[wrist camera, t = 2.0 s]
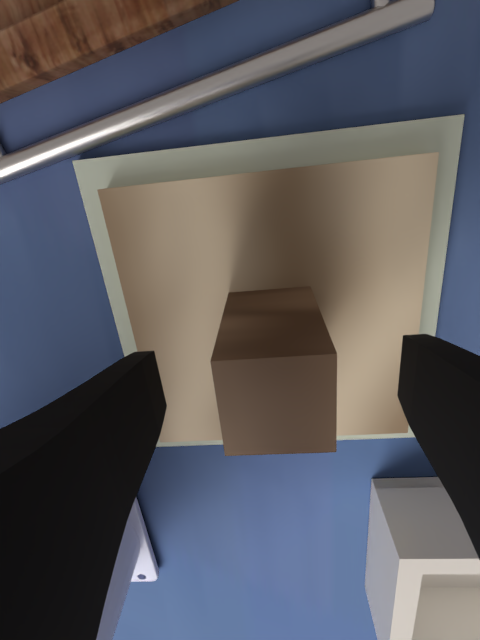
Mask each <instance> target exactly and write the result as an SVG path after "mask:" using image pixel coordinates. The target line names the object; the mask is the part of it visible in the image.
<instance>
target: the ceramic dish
mask: <svg viewBox="0 0 480 640" xmlns="http://www.w3.org/2000/svg"><path fill="white" fill-rule="evenodd" d="M365 590H366V594H367V598H368V602H369V606H370V610H371V614H372V618H373V622H374V627H375V631H376V635H377V639H378V640H480V560H479V557H478V555H477V553H476V551H475V548H474V546H473V544H472V542H471V540H470V537H469V535H468V533H467V531H466V528H465V526H464V524H463V522H462V520H461V517H460V515H459V514H458V512H457V510H456V508H455V506H454V504H453V502H452V500H451V498H450V497H449V495H448V493H447V491H446V490H445V488H444V486H443V484H442V483H441V481H440V479H439V477H418V478H381V479H372V481H371V496H370V512H369V528H368V543H367V559H366V574H365Z"/></svg>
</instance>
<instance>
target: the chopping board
mask: <svg viewBox="0 0 480 640" xmlns="http://www.w3.org/2000/svg"><path fill="white" fill-rule="evenodd" d="M237 1H239V0H0V103H3V102H5V101H7V100H10V99H12V98H14V97H16V96H19V95H21V94H23V93H26V92H28V91H30V90H33V89H35V88H37V87H40V86H42V85H44V84H47V83H49V82H51V81H54V80H56V79H58V78H60V77H63V76H65V75H67V74H70V73H72V72H74V71H77V70H79V69H81V68H84V67H86V66H88V65H91V64H93V63H95V62H98V61H100V60H102V59H105V58H107V57H109V56H111V55H114V54H116V53H118V52H121V51H123V50H125V49H128V48H130V47H132V46H135V45H137V44H139V43H142V42H144V41H146V40H149V39H151V38H153V37H156V36H158V35H160V34H162V33H165V32H167V31H169V30H172V29H174V28H176V27H179V26H181V25H183V24H186V23H188V22H190V21H193V20H195V19H197V18H200V17H202V16H204V15H206V14H209V13H211V12H213V11H216V10H218V9H220V8H223V7H225V6H227V5H230V4H232V3H234V2H237ZM370 1H371V9H369V10H366V11H364V12H361V13H359V14H356V15H354V16H351V17H349V18H346V19H344V20H341V21H339V22H336V23H334V24H331V25H329V26H326V27H324V28H321V29H319V30H316V31H314V32H311V33H309V34H306V35H304V36H301V37H299V38H296V39H294V40H291V41H289V42H286V43H284V44H281V45H279V46H276V47H274V48H271V49H269V50H266V51H264V52H261V53H259V54H256V55H254V56H251V57H249V58H246V59H244V60H241V61H239V62H236V63H234V64H231V65H229V66H226V67H224V68H221V69H219V70H216V71H214V72H211V73H209V74H206V75H204V76H201V77H199V78H196V79H194V80H191V81H189V82H186V83H184V84H181V85H179V86H176V87H174V88H171V89H169V90H166V91H164V92H161V93H159V94H156V95H154V96H151V97H149V98H146V99H144V100H141V101H139V102H136V103H134V104H131V105H129V106H126V107H124V108H121V109H119V110H116V111H114V112H111V113H109V114H106V115H104V116H101V117H99V118H96V119H94V120H91V121H89V122H86V123H84V124H81V125H79V126H76V127H74V128H71V129H68V130H66V131H63V132H61V133H58V134H56V135H53V136H51V137H48V138H46V139H43V140H41V141H38V142H36V143H33V144H31V145H28V146H26V147H23V148H21V149H18V150H16V151H13V152H11V153H8V154H6V153H5V151H4V149H3V147H2V145H1V143H0V184H3V183H5V182H8V181H11V180H13V179H16V178H18V177H21V176H24V175H26V174H29V173H32V172H34V171H37V170H39V169H42V168H45V167H47V166H50V165H52V164H55V163H58V162H60V161H63V160H65V159H68V158H71V157H73V156H76V155H78V154H81V153H84V152H86V151H89V150H91V149H94V148H97V147H99V146H102V145H105V144H107V143H110V142H112V141H115V140H118V139H120V138H123V137H125V136H128V135H131V134H133V133H136V132H138V131H141V130H144V129H146V128H149V127H151V126H154V125H157V124H159V123H162V122H164V121H167V120H170V119H172V118H175V117H177V116H180V115H183V114H185V113H188V112H191V111H193V110H196V109H198V108H201V107H204V106H206V105H209V104H211V103H214V102H217V101H219V100H222V99H224V98H227V97H230V96H232V95H235V94H237V93H240V92H243V91H245V90H248V89H250V88H253V87H256V86H258V85H261V84H264V83H266V82H269V81H271V80H274V79H277V78H279V77H282V76H284V75H287V74H290V73H292V72H295V71H297V70H300V69H303V68H305V67H308V66H310V65H313V64H316V63H318V62H321V61H323V60H326V59H329V58H331V57H334V56H337V55H339V54H342V53H344V52H347V51H350V50H352V49H355V48H357V47H360V46H363V45H365V44H368V43H370V42H373V41H376V40H378V39H381V38H383V37H386V36H389V35H391V34H394V33H396V32H399V31H402V30H404V29H407V28H410V27H412V26H415V25H417V24H420V23H423V22H425V21H428V20H429V19H430V17H431V16H432V14H433V12H434V8H435V0H391V1H390V0H370Z"/></svg>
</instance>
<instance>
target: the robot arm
mask: <svg viewBox="0 0 480 640" xmlns="http://www.w3.org/2000/svg"><path fill="white" fill-rule="evenodd" d="M397 396H398V399H399V402H400V404H401V407H402V409H403V412H404V415H405V417H406V419H407V422H408V424H409V426H410V428H411V430H412V432H413V434H414V436H415V437H416V439H417V441H418V443H419V444H420V446H421V448H422V450H423V451H424V453H425V455H426V457H427V458H428V460H429V462H430V464H431V465H432V467H433V469H434V471H435V472H436V474H437V476H438V477H439V479H440V481H441V483H442V484H443V486H444V488H445V490H446V491H447V493H448V495H449V497H450V498H451V500H452V502H453V504H454V506H455V508H456V510H457V512H458V514H459V515H460V517H461V520H462V522H463V524H464V526H465V528H466V531H467V533H468V535H469V537H470V540H471V542H472V544H473V546H474V548H475V551H476V553H477V555H478V557H479V560H480V356H478V355H476V354H474V353H472V352H469V351H467V350H465V349H463V348H460V347H458V346H456V345H454V344H451V343H449V342H447V341H444V340H442V339H439V338H437V337H434V336H431V335H428V334H414V335H403V340H402V351H401V361H400V372H399V383H398V393H397ZM166 408H167V404H166V400H165V395H164V391H163V387H162V382H161V378H160V374H159V369H158V365H157V361H156V356H155V352H154V351H140V352H133V353H131V354H129V355H127V356H126V357H124V358H122V359H120V360H119V361H117V362H116V363H114V364H112V365H111V366H109V367H108V368H106V369H105V370H103V371H102V372H100V373H99V374H97V375H95V376H94V377H92V378H91V379H89V380H88V381H86V382H85V383H83V384H81V385H80V386H78V387H77V388H75V389H73V390H72V391H70V392H68V393H67V394H65V395H63V396H61V397H60V398H58V399H56V400H55V401H53V402H51V403H50V404H48V405H46V406H44V407H43V408H41V409H39V410H37V411H35V412H33V413H32V414H30V415H28V416H26V417H24V418H22V419H20V420H18V421H16V422H14V423H12V424H10V425H8V426H6V427H4V428H1V429H0V640H112V639H113V636H114V633H115V630H116V627H117V624H118V620H119V617H120V614H121V611H122V608H123V605H124V601H125V598H126V595H127V592H128V589H129V586H130V582H131V581H155V580H157V578H158V575H159V569H158V565H157V562H156V559H155V556H154V552H153V549H152V546H151V543H150V539H149V536H148V533H147V530H146V526H145V523H144V520H143V517H142V513H141V510H140V507H139V504H138V500H137V497H136V496H137V493H138V490H139V488H140V485H141V483H142V480H143V478H144V475H145V473H146V470H147V468H148V465H149V463H150V460H151V458H152V455H153V453H154V450H155V447H156V445H157V442H158V440H159V437H160V434H161V430H162V426H163V422H164V417H165V413H166Z"/></svg>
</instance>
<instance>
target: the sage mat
mask: <svg viewBox="0 0 480 640" xmlns="http://www.w3.org/2000/svg"><path fill="white" fill-rule="evenodd" d="M464 116H465V114H461V115H453V116H444V117H436V118H428V119H419V120H411V121H402V122H394V123H386V124H377V125H369V126H361V127H352V128H344V129H335V130H327V131H319V132H310V133H302V134H293V135H285V136H277V137H268V138H260V139H251V140H243V141H235V142H226V143H218V144H209V145H201V146H193V147H184V148H176V149H167V150H159V151H151V152H142V153H134V154H125V155H117V156H109V157H100V158H92V159H83V160H75V161H72V162H73V166H74V170H75V173H76V177H77V181H78V185H79V188H80V192H81V196H82V200H83V203H84V207H85V211H86V215H87V218H88V222H89V226H90V229H91V233H92V237H93V241H94V244H95V248H96V252H97V256H98V259H99V263H100V267H101V271H102V274H103V278H104V282H105V286H106V289H107V293H108V297H109V301H110V304H111V308H112V312H113V316H114V319H115V323H116V327H117V330H118V334H119V338H120V342H121V345H122V349H123V353H124V357H126V356H127V355H129V354H131V353H133V352H137V348H136V344H135V340H134V335H133V331H132V327H131V323H130V319H129V315H128V311H127V307H126V303H125V299H124V295H123V291H122V287H121V283H120V279H119V275H118V271H117V267H116V263H115V259H114V255H113V251H112V247H111V243H110V239H109V235H108V231H107V227H106V223H105V219H104V215H103V211H102V207H101V203H100V199H99V195H98V191H97V190H98V189H105V188H114V187H123V186H132V185H141V184H150V183H159V182H168V181H177V180H186V179H195V178H204V177H213V176H222V175H231V174H241V173H250V172H259V171H268V170H277V169H286V168H295V167H304V166H313V165H322V164H331V163H340V162H349V161H358V160H368V159H377V158H386V157H395V156H404V155H413V154H422V153H432V152H439V158H438V167H437V176H436V185H435V194H434V203H433V212H432V221H431V229H430V238H429V247H428V256H427V265H426V274H425V283H424V292H423V301H422V310H421V319H420V328H419V334H428V335H431V336H434V337H435V334H436V326H437V319H438V311H439V304H440V296H441V288H442V281H443V273H444V266H445V258H446V251H447V243H448V236H449V228H450V221H451V213H452V206H453V198H454V191H455V183H456V176H457V168H458V161H459V153H460V146H461V138H462V131H463V123H464ZM408 437H415V436H414V434H413V432H412V430H411V428H410V426H408V433H393V434H367V435H341V436H336V440H354V439H381V438H408ZM220 444H223V440H211V441H185V442H160V440H158V442H157V445H156V447H166V446H193V445H220Z"/></svg>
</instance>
